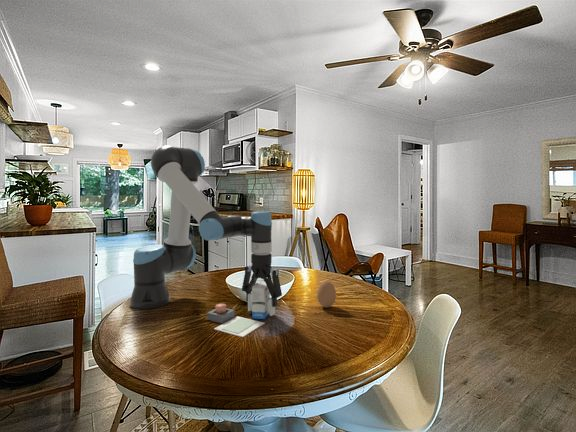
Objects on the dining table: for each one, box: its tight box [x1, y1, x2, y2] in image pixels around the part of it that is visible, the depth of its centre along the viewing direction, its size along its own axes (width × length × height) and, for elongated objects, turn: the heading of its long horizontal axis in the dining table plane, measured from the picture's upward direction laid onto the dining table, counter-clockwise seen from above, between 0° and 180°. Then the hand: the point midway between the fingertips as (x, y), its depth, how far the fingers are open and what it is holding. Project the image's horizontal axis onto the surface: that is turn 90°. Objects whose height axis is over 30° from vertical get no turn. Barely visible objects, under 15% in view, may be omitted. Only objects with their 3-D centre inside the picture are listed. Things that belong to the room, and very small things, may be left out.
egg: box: [316, 280, 337, 309], centre depth 132 cm, size 8×8×11 cm
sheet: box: [213, 315, 266, 338], centre depth 113 cm, size 12×13×1 cm
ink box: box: [251, 281, 271, 320], centre depth 123 cm, size 9×5×12 cm, turn 168°
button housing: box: [206, 307, 236, 324], centre depth 120 cm, size 7×7×2 cm
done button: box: [215, 303, 227, 314], centre depth 120 cm, size 4×4×2 cm
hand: (261, 312), depth 124 cm, fingers open, 9 cm apart
